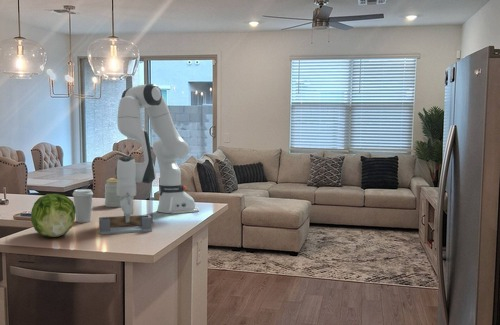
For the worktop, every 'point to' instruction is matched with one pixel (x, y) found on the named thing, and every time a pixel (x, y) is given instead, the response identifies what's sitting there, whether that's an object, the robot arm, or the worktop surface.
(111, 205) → the jar
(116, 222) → the slat
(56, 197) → the lettuce
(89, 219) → the coffee cup
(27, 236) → the worktop surface
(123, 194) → the robot arm
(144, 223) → the grey cradle
